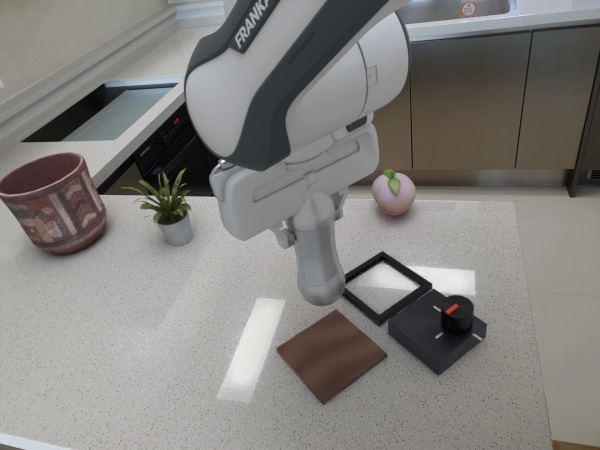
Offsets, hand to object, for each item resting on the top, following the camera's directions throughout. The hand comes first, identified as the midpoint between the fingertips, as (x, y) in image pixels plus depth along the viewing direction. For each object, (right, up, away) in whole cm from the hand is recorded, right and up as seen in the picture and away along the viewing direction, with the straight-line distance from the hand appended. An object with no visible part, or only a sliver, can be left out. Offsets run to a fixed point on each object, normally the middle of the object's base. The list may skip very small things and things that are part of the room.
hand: (311, 231), depth 56 cm
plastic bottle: (+2, -9, +7) cm, 11 cm away
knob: (+21, -13, +11) cm, 27 cm away
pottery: (-53, -3, +51) cm, 73 cm away
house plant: (-28, -3, +44) cm, 52 cm away
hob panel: (+19, -16, +13) cm, 28 cm away
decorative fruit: (+18, +3, +39) cm, 44 cm away
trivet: (+3, -19, +13) cm, 23 cm away
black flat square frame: (+12, -10, +23) cm, 28 cm away
